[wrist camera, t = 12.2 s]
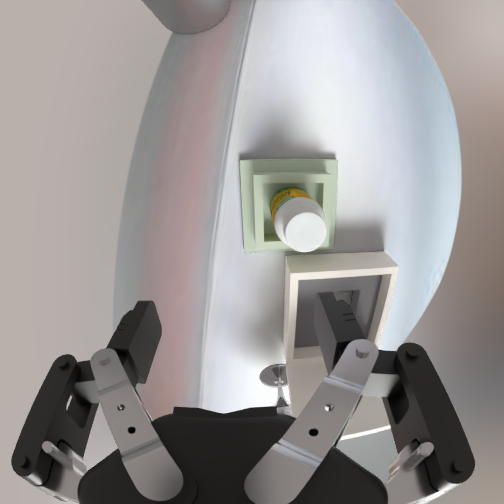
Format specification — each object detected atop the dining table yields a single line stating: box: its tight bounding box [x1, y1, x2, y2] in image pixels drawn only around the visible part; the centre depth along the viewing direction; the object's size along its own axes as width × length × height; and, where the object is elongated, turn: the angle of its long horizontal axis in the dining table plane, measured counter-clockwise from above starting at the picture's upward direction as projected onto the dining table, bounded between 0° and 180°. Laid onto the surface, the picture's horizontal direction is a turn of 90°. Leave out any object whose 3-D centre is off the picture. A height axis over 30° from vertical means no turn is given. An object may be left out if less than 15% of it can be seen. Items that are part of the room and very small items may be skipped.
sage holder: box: [240, 159, 338, 253], centre depth 33 cm, size 12×12×3 cm
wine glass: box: [260, 364, 292, 416], centre depth 41 cm, size 8×8×15 cm
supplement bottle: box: [270, 187, 327, 252], centre depth 29 cm, size 5×5×10 cm
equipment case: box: [283, 251, 399, 440], centre depth 32 cm, size 17×15×19 cm
